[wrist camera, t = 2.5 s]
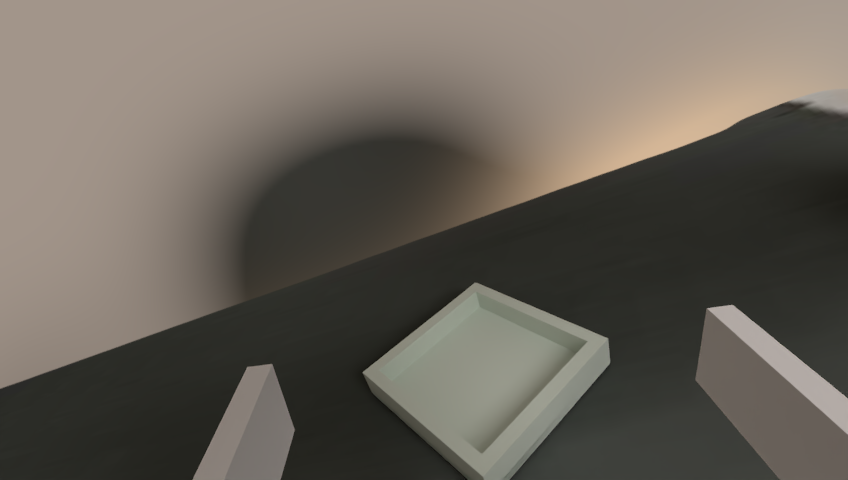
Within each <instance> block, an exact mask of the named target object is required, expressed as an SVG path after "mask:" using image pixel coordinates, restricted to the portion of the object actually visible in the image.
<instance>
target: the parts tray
mask: <svg viewBox="0 0 848 480" xmlns="http://www.w3.org/2000/svg"><path fill="white" fill-rule="evenodd" d="M609 364H610V354H609V343H608V338H606V337H603V336H601V335H598V334H596V333H594V332H591V331H589V330H587V329H584V328H582V327H580V326H577V325H575V324H573V323H570V322H568V321H565V320H563V319H561V318H558V317H556V316H554V315H551V314H549V313H547V312H544V311H542V310H539V309H537V308H535V307H532V306H530V305H528V304H525V303H523V302H521V301H518V300H516V299H514V298H511V297H509V296H506V295H504V294H502V293H499V292H497V291H495V290H492V289H490V288H488V287H485V286H483V285H480V284H478V283H474V284H473V285H472V286H470V287H469V288H468V289H467V290H465V291H464V292H463V293H462V294H460V295H459V296H458V297H457V298H455V299H454V300H453V301H452V302H450V303H449V304H448V305H447V306H445V307H444V308H443V309H442V310H440V311H439V312H438V313H437V314H435V315H434V316H433V317H431V318H430V319H429V320H428V321H426V322H425V323H424V324H423V325H421V326H420V327H419V328H418V329H416V330H415V331H414V332H413V333H411V334H410V335H409V336H408V337H406V338H405V339H404V340H403V341H401V342H400V343H399V344H398V345H396V346H395V347H394V348H393V349H391V350H390V351H389V352H387V353H386V354H385V355H384V356H382V357H381V358H380V359H379V360H377V361H376V362H375V363H374V364H372V365H371V366H370V367H369V368H367V369H366V370H365V371H364V372H362V373H363V375H364V377H365V379H366V381H367V383H368V385H369V387H370V389H371V392H372V394H374V395H375V396H376V397H377V398H378V399H379V400H380V401H381V402H382V403H384V404H385V405H386V406H387V407H388V408H389V409H390V410H391V411H392V412H394V413H395V414H396V415H397V416H398V417H399V418H400V419H401V420H402V421H403V422H405V423H406V424H407V425H408V426H409V427H410V428H411V429H412V430H413V431H415V432H416V433H417V434H418V435H419V436H420V437H421V438H422V439H423V440H425V441H426V442H427V443H428V444H429V445H430V446H431V447H432V448H433V449H434V450H436V451H437V452H438V453H439V454H440V455H441V456H442V457H443V458H444V459H446V460H447V461H448V462H449V463H450V464H451V465H452V466H453V467H454V468H456V469H457V470H458V471H459V472H460V473H461V474H462V475H463V476H464V477H465V478H467V479H468V480H510V479H511V477H512V476H513V475H514V474H515V473H516V472H517V470H518V469H519V468H520V467H521V466H522V465H523V464H524V462H525V461H526V460H527V459H528V458H529V457H530V455H531V454H532V453H533V452H534V451H535V450H536V448H537V447H538V446H539V445H540V444H541V443H542V442H543V440H544V439H545V438H546V437H547V436H548V435H549V433H550V432H551V431H552V430H553V429H554V428H555V426H556V425H557V424H558V423H559V422H560V421H561V420H562V418H563V417H564V416H565V415H566V414H567V413H568V411H569V410H570V409H571V408H572V407H573V406H574V404H575V403H576V402H577V401H578V400H579V399H580V398H581V396H582V395H583V394H584V393H585V392H586V391H587V389H588V388H589V387H590V386H591V385H592V384H593V383H594V381H595V380H596V379H597V378H598V377H599V376H600V374H601V373H602V372H603V371H604V370H605V369H606V367H607V366H608V365H609Z"/></svg>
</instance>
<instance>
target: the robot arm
mask: <svg viewBox="0 0 848 480" xmlns="http://www.w3.org/2000/svg"><path fill="white" fill-rule="evenodd" d="M696 381H697V382H698V384H699V385H700V386H701V387H702V388H703V389H704V391H705V392H706V393H707V394H708V395H709V397H710V398H711V399H712V400H713V401H714V402H715V404H716V405H717V406H718V407H719V408H720V410H721V411H722V412H723V413H724V414H725V415H726V417H727V418H728V419H729V420H730V421H731V422H732V424H733V425H734V426H735V427H736V428H737V430H738V431H739V432H740V433H741V434H742V435H743V437H744V438H745V439H746V440H747V441H748V443H749V444H750V445H751V446H752V447H753V448H754V450H755V451H756V452H757V453H758V454H759V455H760V457H761V458H762V459H763V460H764V461H765V463H766V464H767V465H768V466H769V467H770V468H771V470H772V471H773V472H774V473H775V474H776V476H777V477H778V478H779V479H780V480H848V398H846V397H845V396H844V395H843V394H841V393H840V392H839V391H838V390H837V389H835V388H834V387H833V386H832V385H830V384H829V383H828V382H827V381H826V380H824V379H823V378H822V377H821V376H819V375H818V374H817V373H816V372H814V371H813V370H812V369H811V368H810V367H808V366H807V365H806V364H805V363H803V362H802V361H801V360H800V359H799V358H797V357H796V356H795V355H794V354H792V353H791V352H790V351H789V350H787V349H786V348H785V347H784V346H783V345H781V344H780V343H779V342H778V341H776V340H775V339H774V338H773V337H771V336H770V335H769V334H768V333H767V332H765V331H764V330H763V329H762V328H760V327H759V326H758V325H757V324H756V323H754V322H753V321H752V320H751V319H749V318H748V317H747V316H746V315H744V314H743V313H742V312H741V311H740V310H738V309H737V308H736V307H735V306H733V305H729V306H721V307H713V308H707V310H706V317H705V323H704V329H703V336H702V342H701V348H700V355H699V361H698V367H697V374H696ZM294 431H295V429H294V427H293V424H292V421H291V418H290V415H289V412H288V409H287V406H286V403H285V400H284V397H283V394H282V392H281V389H280V386H279V383H278V380H277V377H276V374H275V371H274V368H273V365H272V364H269V365H261V366H253V367H247V369H246V371H245V373H244V375H243V377H242V379H241V381H240V383H239V385H238V387H237V389H236V391H235V394H234V396H233V398H232V400H231V402H230V404H229V406H228V408H227V410H226V412H225V414H224V416H223V418H222V420H221V422H220V424H219V426H218V428H217V431H216V433H215V435H214V437H213V439H212V441H211V443H210V445H209V447H208V449H207V451H206V453H205V455H204V457H203V459H202V461H201V463H200V465H199V468H198V470H197V472H196V474H195V476H194V478H193V480H281V476H282V473H283V469H284V466H285V462H286V459H287V455H288V452H289V448H290V445H291V441H292V438H293V434H294Z"/></svg>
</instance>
